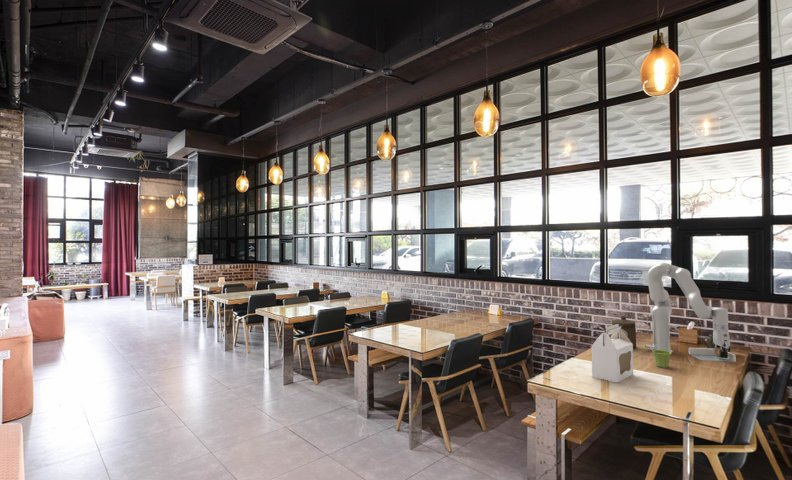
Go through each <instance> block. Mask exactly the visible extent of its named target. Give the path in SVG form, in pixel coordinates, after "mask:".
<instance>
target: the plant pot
mask: <svg viewBox="0 0 792 480" xmlns="http://www.w3.org/2000/svg"><path fill="white" fill-rule="evenodd" d="M652 353H653V355H654V361H655V365H656V367H659V368H665V369H666V368H669V363H670V357H671V355H672V353H671V352H669V351H664V350H653V351H652Z"/></svg>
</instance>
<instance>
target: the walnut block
mask: <svg viewBox="0 0 792 480" xmlns="http://www.w3.org/2000/svg"><path fill="white" fill-rule="evenodd" d="M714 355H715V356H717V357H719V358H721V348H715V347H714ZM727 358H728V350H727Z"/></svg>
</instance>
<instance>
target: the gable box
mask: <svg viewBox="0 0 792 480" xmlns="http://www.w3.org/2000/svg"><path fill="white" fill-rule="evenodd" d="M620 328H621V326H620V327H619V325H618V324H615V325H612V324H611V325H609V326H606V327H604V332H602V333H601V334H600V335H599V336H598V337H597V338H596V340H595V341H594V342H593V343H592V345H591V377H592V378H594V377H596V378H595V379H598V378H600V379H599V380H603V379H604V381H607V380H608V381H607V382H611V381H612V383H615V382H616V383H615V384H618V383H619V382H621V381H623V380H625V379H627V378H629V377H631V376H633V375H634V349H633V343H632V342H631V341H630V340H629V338H628V337H627V336H626V334H625V333H624V332H623V330H621V329H620ZM610 335H611V336H610ZM620 338H621V339H620Z"/></svg>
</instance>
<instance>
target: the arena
mask: <svg viewBox="0 0 792 480" xmlns="http://www.w3.org/2000/svg"><path fill="white" fill-rule="evenodd" d="M688 355H690V356H691V357H694V358H696V359H698V360H700V361H709V362H711V361H712V362H732V363H733V362H734V363H736V362H737V357H736V354H734V353H732V352H731V351H730V352H728V358H719V357H717V356H715V355H714V349H710V348H708V347H706V348H705V347H688Z"/></svg>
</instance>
